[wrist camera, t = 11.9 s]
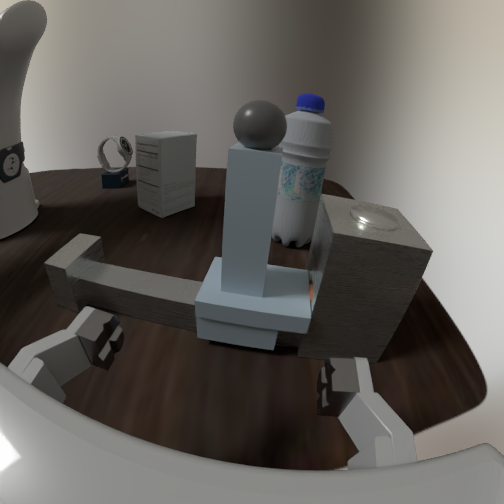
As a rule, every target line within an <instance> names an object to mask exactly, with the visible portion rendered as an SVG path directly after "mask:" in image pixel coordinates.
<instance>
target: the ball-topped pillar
mask: <svg viewBox="0 0 504 504" xmlns="http://www.w3.org/2000/svg"><path fill="white" fill-rule="evenodd" d="M233 128H234V133H235V135H236V137H237V139H238V141H239V142H238V143H236V144H235V145H233V146H232V147H230V148H229V149H228V163H227V176H226V192H225V208H224V226H223V246H222V258H220V257H215V258H214V260H213V263H212V265H211V267H210V269H209V271H208V273H207V275H206V277H205V279H204V282H203V284H202V286H201V288H200V290H199V292H198V294H197V297H196V299H195V316H196V321H197V337H198V338H203V339H208V340H213V341H219V342H224V343H230V344H235V345H241V346H247V347H254V348H260V349H267V350H274V346H275V342H276V338H277V333H278V330H280V331H288V332H296V333H304V334H306V333H307V330H308V327H309V324H310V321H311V308H310V291H309V276H308V270H301V269H294V268H287V267H280V266H274V265H267V263H268V256H269V249H270V242H271V235H272V228H273V220H274V213H275V206H276V198H277V191H278V183H279V176H280V168H281V160H282V152H283V147H276V146H277V145H278V144H280V142H281V141H282V140H283V139H284V137H285V134H286V131H287V121H286V117H285V115H284V113H283V112H282V110H281V109H280V108H279V107H278V106H277V105H275V104H273V103H271V102H269V101H265V100H255V101H251V102H249V103H247V104H245V105H244V106H242V107H241V108H240V109H239V111H238V112H237V113H236V115H235V118H234V123H233Z"/></svg>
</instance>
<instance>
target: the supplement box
mask: <svg viewBox="0 0 504 504" xmlns="http://www.w3.org/2000/svg"><path fill="white" fill-rule="evenodd" d="M196 138H197V134H194V133H188V132H176V131H165V132H156V133H149V134H142V135H136V177H137V196H138V206H139V207H140V208H142V209H144V210H146V211H148V212H150V213H152V214H154V215H156V216H158V217H161V218H164V217H166V216H169V215H171V214H174V213H177V212H179V211H182V210H185V209H188V208H191V207H194V206H195V165H196Z"/></svg>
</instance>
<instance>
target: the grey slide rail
mask: <svg viewBox="0 0 504 504" xmlns="http://www.w3.org/2000/svg"><path fill="white" fill-rule="evenodd" d="M432 252H433V250H432V249H431V248H430V247H429V245H428V244H427V243H426V242H425V240H424V239H423V238H422V237H421V236H420V234H418V232H417V231H416V230H415V229H414V227H413V226H412V225H411V224H410V223H409V222H408V221H407V219H406V218H405V217H404V216H403V215H402V214H401V213H400V212H399V210H398V209H395V208H390V207H386V206H381V205H377V204H372V203H367V202H362V201H357V200H352V199H347V198H341V197H336V196H330V195H325V194H321V198H320V203H319V208H318V213H317V218H316V223H315V228H314V233H313V237H312V242H311V247H310V251H309V256H308V260H307V264H306V269H305V270H308V276H309V285H310V284H312V285H313V298H312V301H311V305H310V308H311V321H310V324H309V327H308V330H307V333H306V334H304V333H296V332H288V331H280V330H278V333H277V338H276V342H275V345H279V346H287V347H295V348H298V357H303V358H312V359H323V360H326V357H327V356H328V355H331V356H346V357H359V358H367V360H368V362H370V363H377V361H378V359H379V358H380V356H381V355H382V353H383V351H384V350H385V348H386V346H387V344H388V343H389V341H390V339H391V338H392V336H393V334H394V332H395V330H396V329H397V327H398V325H399V323H400V321H401V319H402V317H403V316H404V314H405V312H406V310H407V308H408V306H409V304H410V302H411V300H412V298H413V296H414V293H415V291H416V289H417V287H418V285H419V283H420V281H421V278H422V276H423V274H424V271H425V269H426V267H427V264H428V262H429V260H430V257H431V255H432ZM44 265H45V268H46V271H47V274H48V277H49V280H50V283H51V286H52V289H53V292H54V294H55V297H56V300H57V302H58V305H59V306H61V307H64V308H67V309H70V310H72V311H75V312H78V313H80V312H81V311H82V310H83V308H84V307H85V306H86V305H87V304H91V305H94V306H97V307H101V308H104V309H107V310H111V311H114V312H118V313H121V314H125V315H129V316H132V317H136V318H140V319H144V320H148V321H152V322H156V323H160V324H164V325H169V326H173V327H178V328H182V329H187V330H191V331H196V332H197V321H196V316H195V299H196V297H197V294H198V292H199V290H200V288H201V286H202V284H203V282H198V281H192V280H187V279H181V278H176V277H170V276H165V275H160V274H154V273H149V272H144V271H139V270H134V269H129V268H124V267H119V266H114V265H110V264H106V261H105V255H104V250H103V245H102V239H101V237H99V236H93V235H87V234H81V233H80V234H79V235H77V236H76V237H75V238H73V239H72V240H71V241H70V242H68V243H67V244H66V245H65V246H63V247H62V248H61V249H60V250H59V251H57V252H56V253H55V254H54V255H53V256H51V257H50V258H49V259H48V260H47V261H46V262H44Z"/></svg>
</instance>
